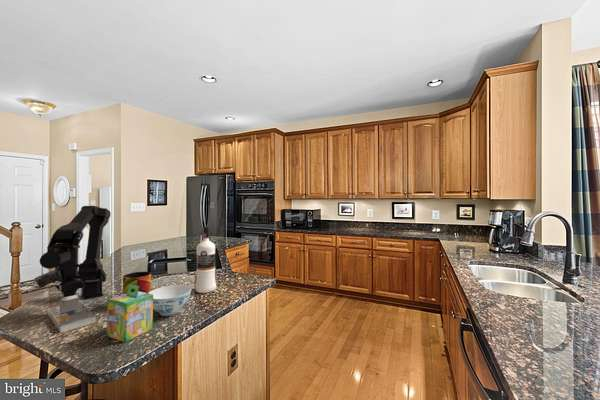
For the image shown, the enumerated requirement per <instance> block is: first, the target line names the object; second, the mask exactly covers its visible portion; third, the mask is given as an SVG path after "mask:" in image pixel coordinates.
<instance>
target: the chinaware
mask: <svg viewBox="0 0 600 400" xmlns="http://www.w3.org/2000/svg"><path fill="white" fill-rule="evenodd" d="M191 293H192V288H191V287H190V286H189V285H183V284H182V285H181V284H178V285H177V284H176V285H175V284H174V285H169V286H168V285H167V286H162V287H158V288H155V289H153V290H152V289H151V291H150V292H149V294H153V311H155V312H157V313H159V315H160V316H162V317H163V316H164V317H168V316H172V315H173V316H174V315H175V314H178V313H179V312H180V310H181V309H182V308H183V307H184V306H185V305H186V304H187V302H188V301H189V299H190V296H191Z"/></svg>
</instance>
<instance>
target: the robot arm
mask: <svg viewBox="0 0 600 400" xmlns="http://www.w3.org/2000/svg"><path fill="white" fill-rule="evenodd" d="M111 214H112V213H111V211H110V210H109V209H108V208H107V207H106V208H104V207H101V206H100V207H99V206H97V205H82V206H81V208H80V210H79V212H78V213H77V214H76V215H75V216H74V217H73V219H72V220H70V222H69V223H67V224H65V225H62V226H61V225H60V227H59V228H57V229H56V230H55V231H54V233H53V234H52V236H51V239H50V240H49V243H48V245H47V247H46V252H45V253H43V254H42V255H41V257H40V259H39V264H40V266H41V267H42V268H44V269H49V270H50V269H54V270H51V271H48V272H46V273H43V274H41V275H38V276H36V277H34V282H35V283H36V285H37V286H38V288H39V289H42V288H44V287H46V286H47V285H50V284H56V283H57V285H55V286H54V287H55V288H56V289H57V290H58V291H60V292H61V295H62V298H64V297H69V296H73V295H76V293H77V292H78V291H77V290H78V289H80V297H81V298H82V299H84V300H90V299H94V298H98V297H102V296H104V293H103V282H107V273H106V271H105V270H104V269H103V267H104V265H103V263H102V261H101V260H100V255H101V246H102V239H103V233H104V232H103V231H104V227H106V226H107V224H108V223H109V220H110V218H111ZM87 225H88V226H89V233H88V237H87V238H88V240H87V245H86V254H85V259H84V260H83V262H81V263H79V248H81V245H80V242H81V241H82V239H83V238H84V232H83V231H84V229H85V228H86V227H87Z"/></svg>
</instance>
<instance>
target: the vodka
mask: <svg viewBox="0 0 600 400" xmlns="http://www.w3.org/2000/svg"><path fill="white" fill-rule="evenodd" d="M202 232H203V233H202V238H203V239H202V241H200V242H199V243H198V244H197V245H196V281H195V283H196V284H195V288H194V289H195V292H197V293H199V294H207V293H212V292H214V291H215V290H216V289H217V282H216V244H215V243H214V242H212V241H211V240H210V227H209V226H203V228H202Z"/></svg>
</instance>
